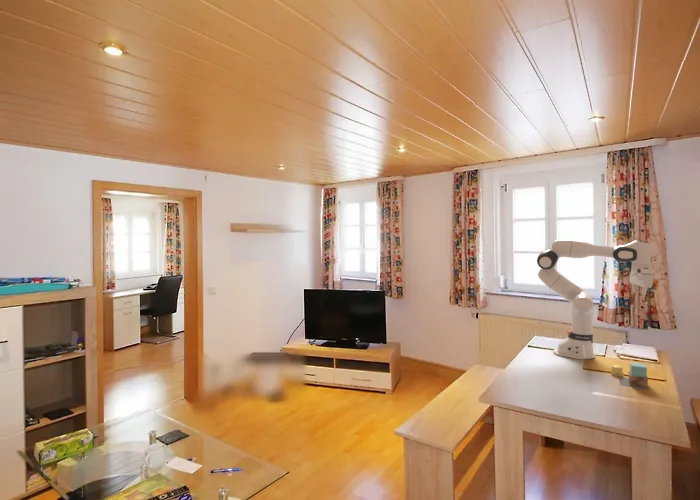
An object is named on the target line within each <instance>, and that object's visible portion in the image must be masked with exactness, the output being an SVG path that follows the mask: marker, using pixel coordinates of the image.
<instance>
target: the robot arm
mask: <svg viewBox="0 0 700 500" xmlns="http://www.w3.org/2000/svg"><path fill="white" fill-rule="evenodd" d="M593 256H594V257H603V258H605V257H607V258H612V259H614V260H615V261H616V262H618V263H621V264H622V263H623V264H625V263H629V262H631V269H630V270H631V271H630V273H629V283H630V284H632V286H633V292H634V293H639V290H640V289H639V287H641V289H642V291H641V295H643V296H646V295H647V292H648V289H650V288H651V289H652V287H653V284H654V274H655V272H656V271H655V270H654V269H653V268H652V262H651V259H652V244H651V243H649V242H648V241H645V240H638V239H636V240H634V241H632V242H630V243H627V244H620V245H616V246H607V245H606V246H605V245H598V244H597V245H595V244H591V243H589V242H585V241H582V240H579V239H578V240H577V239H556V240H554V241H553V242H552V244H551V246H550V248H545V249H544V250H542V251H541V252H540V253H539V255H538V256H537V259H536V263H537V265H538V267H539V268H540V269H539V271H538V273H537V277H538V278H539V279H540V281H541V282H542V283H543V284H545V285H546V286H547V287H548V288H549V289H550V290H552V291H553V292H555V293H556V294H557V295H559V296H560V297H561V298H563V299H564V300H566V301H568V303H570V304H571V306H572V308H571V309H572V313H571V315H572V316H571V330H567V337H566V338H564V339H562V340H560V341H559V343H558V344H557V347H556V348H554V349H553V353H554V354H555V355H557V356H561V357H567V358H571V359H578V360H590V359H591V360H592V359H595V358H596V356H595V352H594V345H593V343H594V333H593V322H594V321H593V320H594V300H593V296H591V294H590V293H588V292H587V291H585V290H584V289H582V288H581V287H579V286H578V285H577V284H575V283H573V282H572V281H571V280H570V279H568V278H567V277H566V276H564V275H563V274H562V273H560V272H559V271H558V270H557V269H556V266H557V264H558V261H559V259H560V258H571V259H584V258H588V257H593Z"/></svg>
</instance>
